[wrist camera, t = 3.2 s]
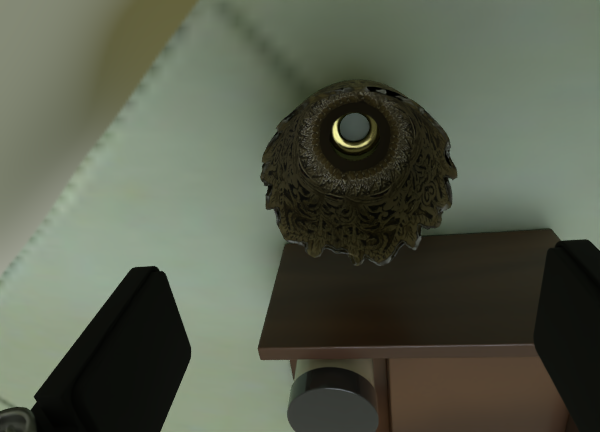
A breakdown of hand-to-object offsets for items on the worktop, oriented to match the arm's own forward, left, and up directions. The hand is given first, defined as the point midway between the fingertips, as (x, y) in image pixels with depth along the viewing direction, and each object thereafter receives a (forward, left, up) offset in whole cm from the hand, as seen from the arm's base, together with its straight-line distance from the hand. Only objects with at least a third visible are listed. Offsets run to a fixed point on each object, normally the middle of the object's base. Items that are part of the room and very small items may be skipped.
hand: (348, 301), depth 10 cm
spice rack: (+16, +3, -14) cm, 22 cm away
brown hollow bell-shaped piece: (0, 0, -15) cm, 15 cm away
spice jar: (+10, -2, -11) cm, 15 cm away
